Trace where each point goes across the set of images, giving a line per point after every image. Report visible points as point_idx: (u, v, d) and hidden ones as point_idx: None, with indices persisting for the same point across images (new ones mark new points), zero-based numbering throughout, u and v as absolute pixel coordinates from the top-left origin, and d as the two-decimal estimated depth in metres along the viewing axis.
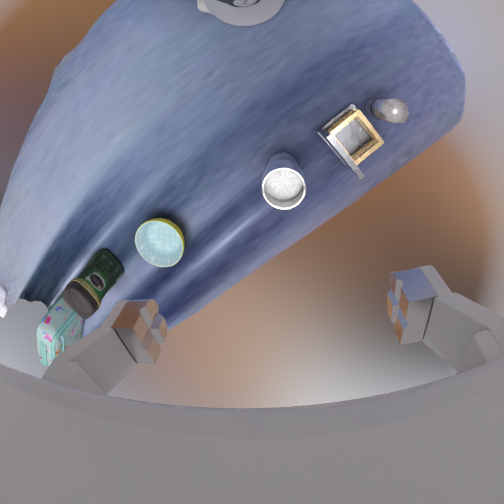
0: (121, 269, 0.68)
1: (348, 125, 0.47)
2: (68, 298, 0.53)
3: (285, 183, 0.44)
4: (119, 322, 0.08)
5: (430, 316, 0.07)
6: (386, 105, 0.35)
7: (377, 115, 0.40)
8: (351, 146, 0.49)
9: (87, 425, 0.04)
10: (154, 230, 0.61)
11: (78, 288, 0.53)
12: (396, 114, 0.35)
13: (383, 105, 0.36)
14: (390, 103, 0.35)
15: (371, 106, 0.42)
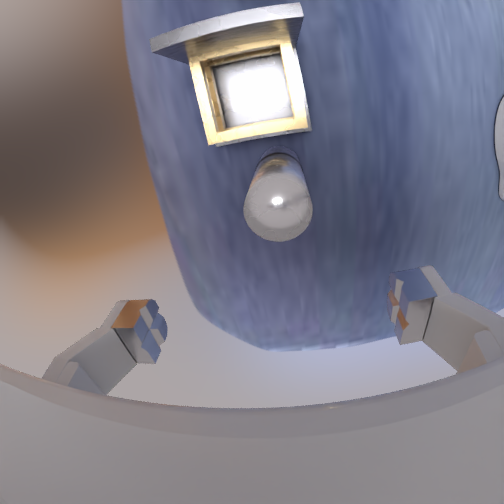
0: None
1: (274, 97, 0.22)
2: None
3: None
4: (119, 322, 0.08)
5: (429, 317, 0.07)
6: (306, 190, 0.16)
7: (275, 158, 0.20)
8: (228, 83, 0.22)
9: (87, 425, 0.04)
10: None
11: None
12: (271, 201, 0.16)
13: (303, 181, 0.17)
14: (305, 204, 0.16)
15: (294, 159, 0.22)
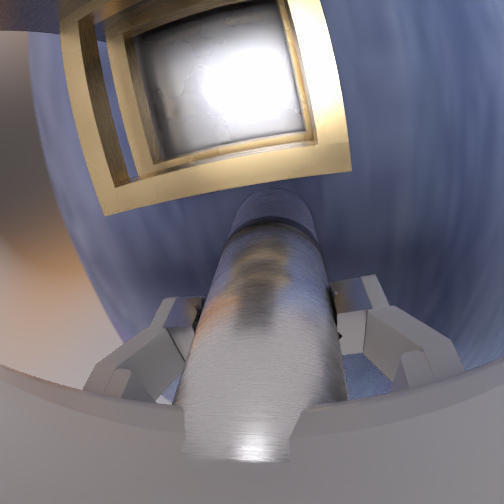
0: None
1: (262, 89, 0.10)
2: None
3: None
4: (173, 321, 0.08)
5: (366, 329, 0.07)
6: None
7: (260, 257, 0.08)
8: (169, 65, 0.10)
9: (87, 425, 0.04)
10: None
11: None
12: None
13: (338, 383, 0.05)
14: None
15: (307, 237, 0.10)
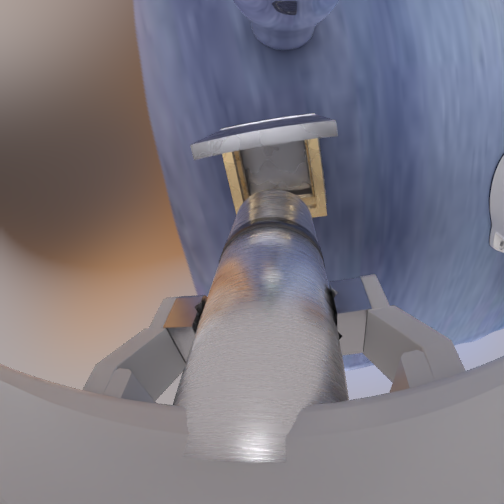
0: None
1: (294, 173, 0.27)
2: None
3: None
4: (173, 321, 0.08)
5: (366, 329, 0.07)
6: None
7: (261, 257, 0.08)
8: (253, 157, 0.26)
9: (87, 425, 0.04)
10: None
11: None
12: None
13: (338, 384, 0.05)
14: None
15: (307, 237, 0.10)
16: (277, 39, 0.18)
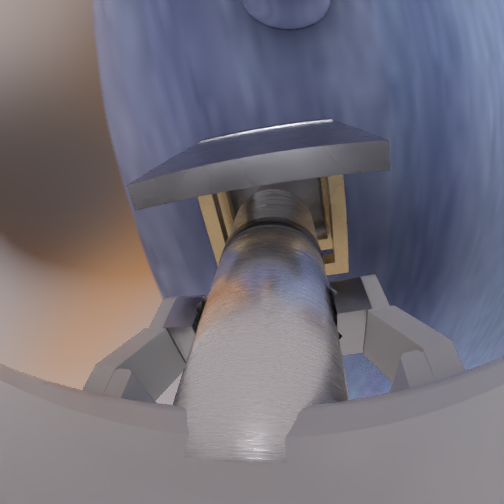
0: None
1: None
2: None
3: None
4: (173, 321, 0.08)
5: (366, 329, 0.07)
6: None
7: (260, 257, 0.08)
8: None
9: (87, 425, 0.04)
10: None
11: None
12: None
13: (338, 385, 0.05)
14: None
15: (307, 237, 0.10)
16: (278, 11, 0.11)
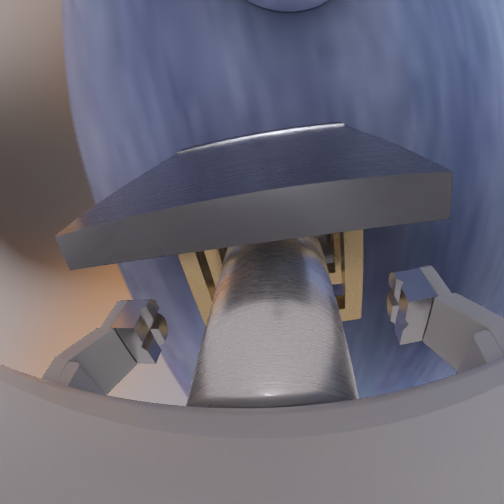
0: None
1: None
2: None
3: None
4: (119, 322, 0.08)
5: (429, 317, 0.07)
6: (353, 391, 0.05)
7: None
8: None
9: (87, 425, 0.04)
10: None
11: None
12: None
13: (340, 335, 0.06)
14: None
15: None
16: None
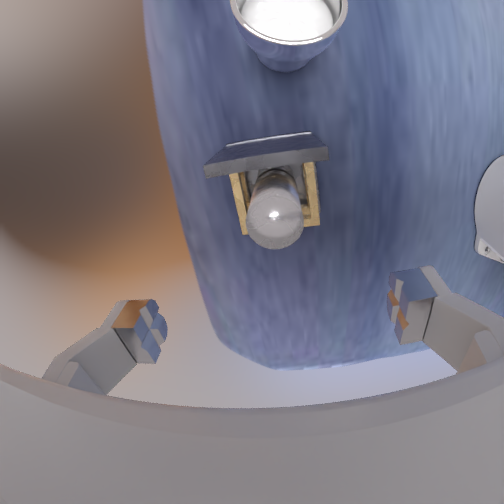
0: None
1: None
2: None
3: (282, 17, 0.14)
4: (119, 322, 0.08)
5: (429, 316, 0.07)
6: (298, 206, 0.19)
7: (272, 175, 0.23)
8: (255, 171, 0.29)
9: (87, 425, 0.04)
10: None
11: None
12: (269, 215, 0.19)
13: (296, 197, 0.20)
14: (298, 217, 0.19)
15: (289, 174, 0.25)
16: (278, 64, 0.22)
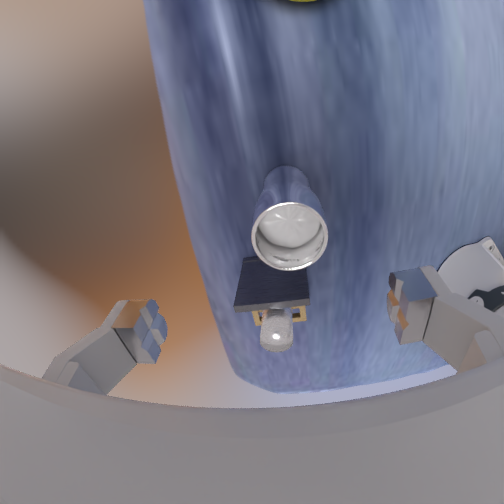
0: None
1: None
2: None
3: (285, 221, 0.27)
4: (119, 322, 0.08)
5: (429, 316, 0.07)
6: (290, 333, 0.32)
7: None
8: None
9: (87, 425, 0.04)
10: None
11: None
12: (273, 338, 0.33)
13: (289, 324, 0.34)
14: (289, 339, 0.32)
15: None
16: None
